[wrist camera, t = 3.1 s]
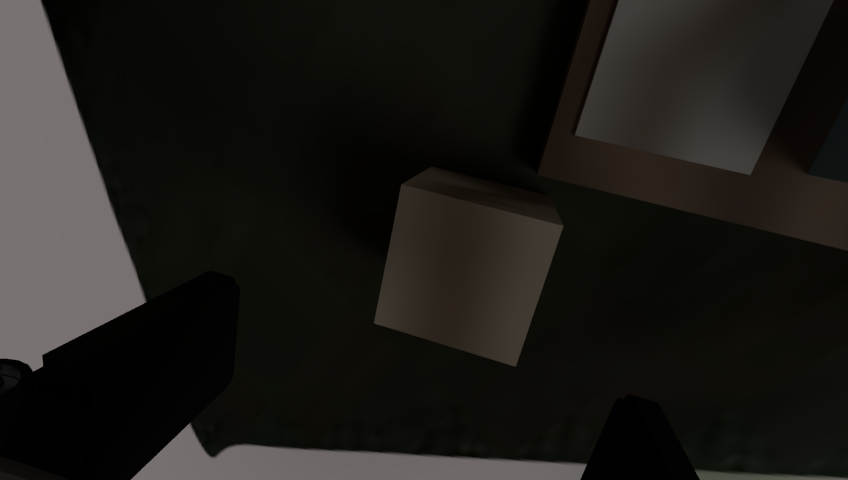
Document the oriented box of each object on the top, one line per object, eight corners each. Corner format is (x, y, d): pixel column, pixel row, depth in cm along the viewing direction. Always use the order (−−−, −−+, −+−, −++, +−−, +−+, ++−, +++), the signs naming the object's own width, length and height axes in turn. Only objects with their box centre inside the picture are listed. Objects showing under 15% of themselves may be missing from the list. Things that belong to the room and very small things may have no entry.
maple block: (549, 195, 20) (563, 225, 14) (515, 302, 22) (515, 366, 16) (431, 166, 21) (401, 184, 15) (408, 272, 23) (374, 323, 17)
